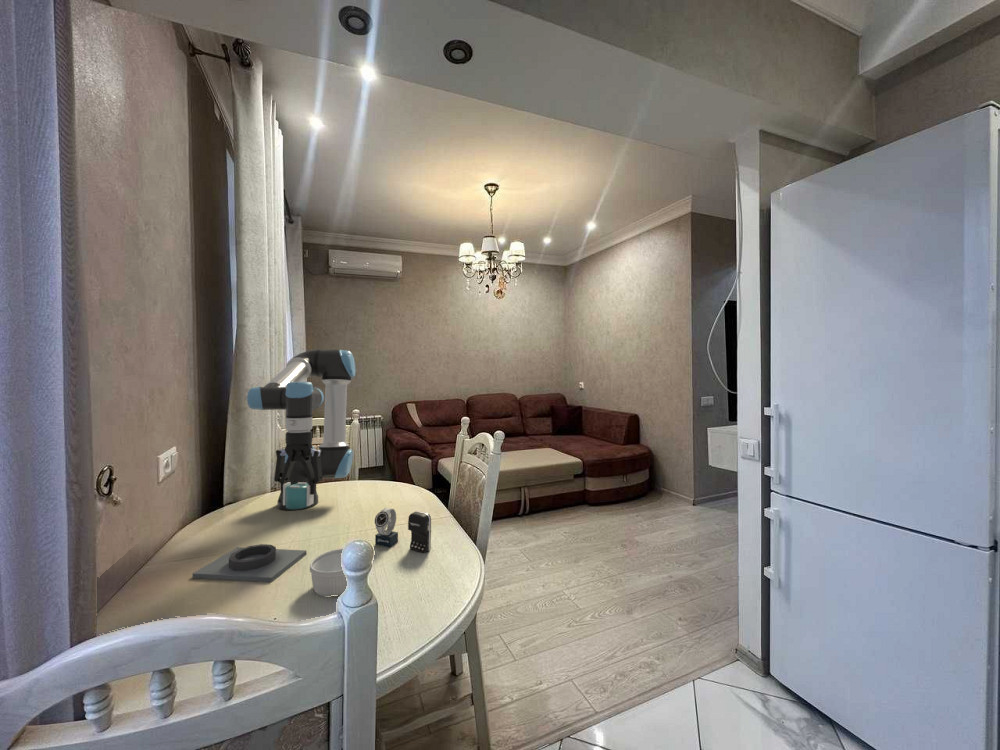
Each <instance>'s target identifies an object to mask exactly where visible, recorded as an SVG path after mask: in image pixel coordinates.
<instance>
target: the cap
mask: <svg viewBox="0 0 1000 750" xmlns="http://www.w3.org/2000/svg"><path fill="white" fill-rule="evenodd" d="M307 485H308V484H307V483H302V482H299V483H297V484H293V485H289V486H287V487H286V508H287V509H299V510H301V509H300V508H304V509H306V508H305V507H308V506H307ZM308 508H309V507H308Z"/></svg>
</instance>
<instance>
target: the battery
mask: <svg viewBox="0 0 1000 750" xmlns="http://www.w3.org/2000/svg"><path fill="white" fill-rule="evenodd" d="M407 520H408V521H407V523H408V524H407V530H408V531H410V532H411V535H410V536H411V537H410V538H411V539H410V544H409V549H410V550H412V551H415V552H419V553H423V554H424V553H427V552H429V551H430V550H431V549H432V548H431V537H432V516H431V514H429V513H428V512H424V511H420V510H415V511H414V512H412V513H410V514H409V515H408V519H407Z"/></svg>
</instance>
